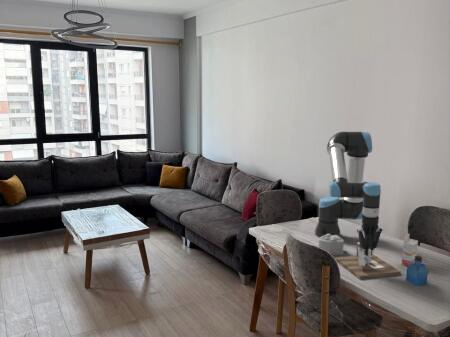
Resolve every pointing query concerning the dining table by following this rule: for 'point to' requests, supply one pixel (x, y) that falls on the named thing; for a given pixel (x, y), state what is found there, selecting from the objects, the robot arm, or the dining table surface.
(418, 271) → the perfume bottle
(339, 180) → the robot arm
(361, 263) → the swing bar
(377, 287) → the dining table surface
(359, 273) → the label board
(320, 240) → the lumpy-topped squat cylinder
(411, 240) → the ink cartridge box
